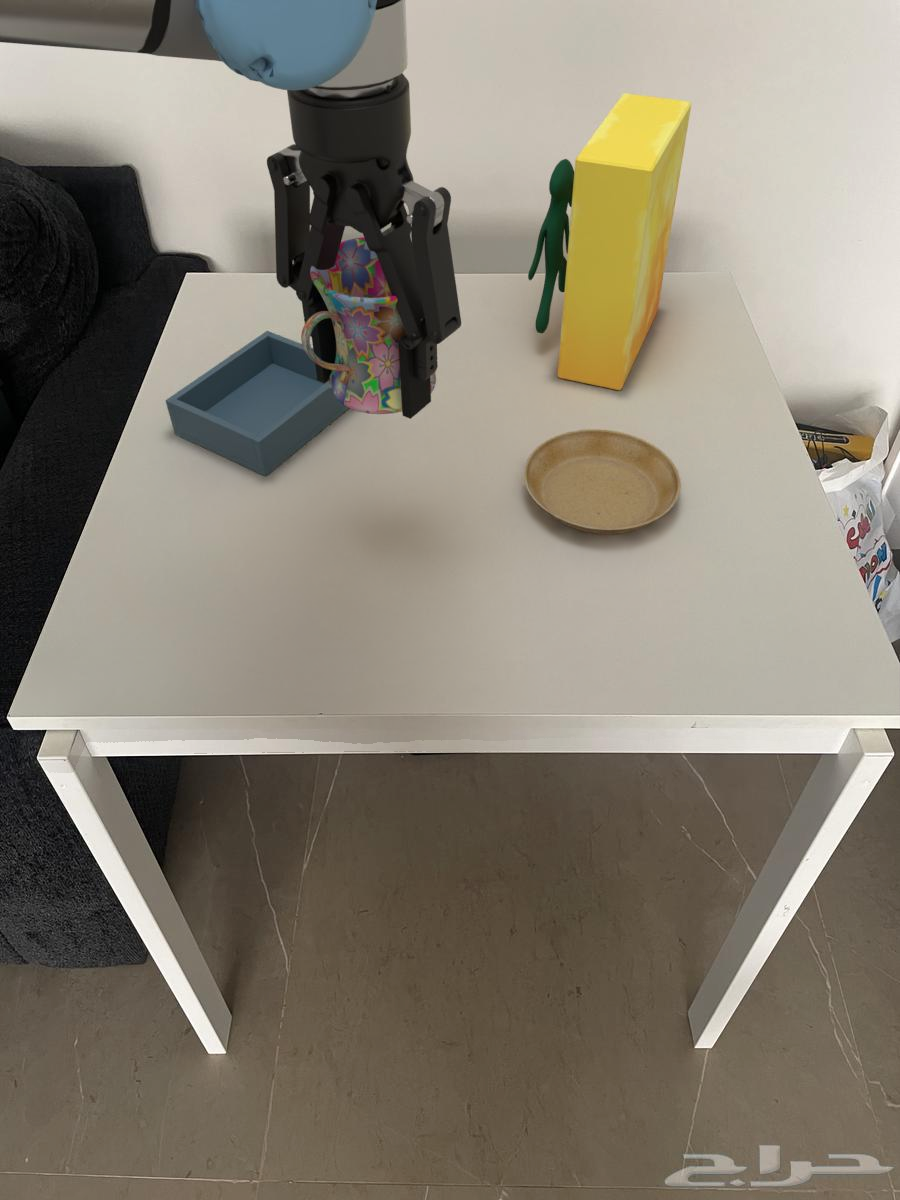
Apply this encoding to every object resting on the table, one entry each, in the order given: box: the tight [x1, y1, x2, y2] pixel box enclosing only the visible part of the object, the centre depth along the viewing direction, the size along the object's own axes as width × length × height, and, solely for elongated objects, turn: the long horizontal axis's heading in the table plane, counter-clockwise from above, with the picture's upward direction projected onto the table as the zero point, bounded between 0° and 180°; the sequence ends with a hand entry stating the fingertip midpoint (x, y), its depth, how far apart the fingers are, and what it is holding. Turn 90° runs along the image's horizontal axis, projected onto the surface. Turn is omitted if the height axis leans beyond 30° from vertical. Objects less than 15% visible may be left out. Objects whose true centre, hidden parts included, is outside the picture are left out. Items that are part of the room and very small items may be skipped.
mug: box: [300, 236, 437, 415], centre depth 71 cm, size 12×9×11 cm
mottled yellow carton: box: [527, 92, 692, 391], centre depth 101 cm, size 18×12×24 cm
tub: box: [165, 330, 350, 477], centre depth 99 cm, size 13×16×4 cm
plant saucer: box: [523, 428, 682, 535], centre depth 90 cm, size 15×15×3 cm
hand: (373, 390), depth 74 cm, fingers closed on mug, 8 cm apart
